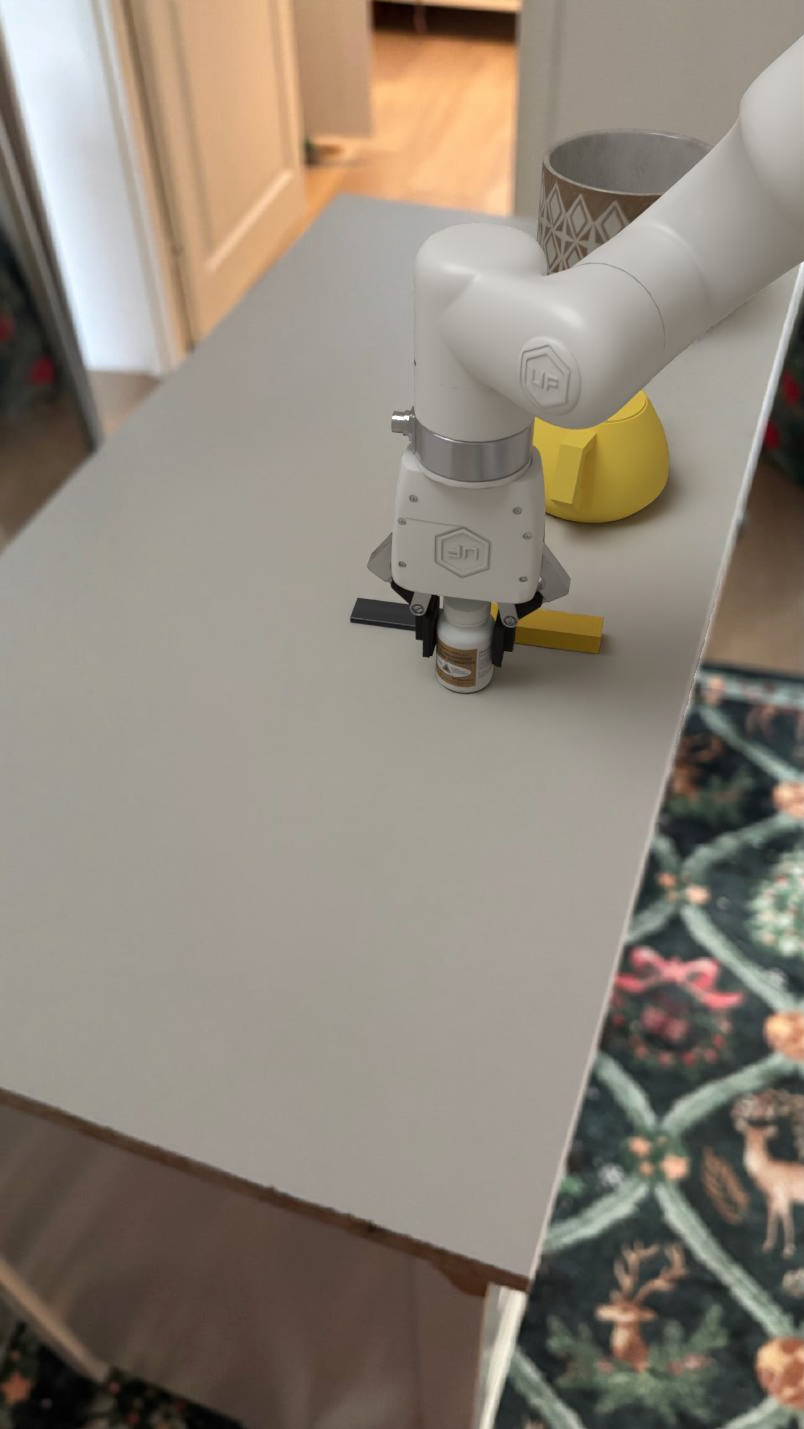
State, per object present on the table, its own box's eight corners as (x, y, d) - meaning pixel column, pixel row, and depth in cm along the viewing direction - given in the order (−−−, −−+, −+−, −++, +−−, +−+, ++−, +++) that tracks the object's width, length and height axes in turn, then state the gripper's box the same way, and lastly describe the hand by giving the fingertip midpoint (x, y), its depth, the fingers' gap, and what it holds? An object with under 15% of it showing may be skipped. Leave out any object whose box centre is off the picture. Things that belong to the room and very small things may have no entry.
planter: (554, 265, 134) (567, 120, 122) (711, 287, 129) (741, 138, 117) (511, 335, 121) (522, 181, 109) (684, 362, 116) (714, 204, 105)
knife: (600, 633, 86) (603, 616, 85) (598, 655, 84) (601, 637, 83) (357, 601, 89) (356, 584, 88) (350, 622, 87) (349, 605, 86)
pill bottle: (424, 678, 83) (424, 601, 77) (457, 647, 85) (459, 570, 80) (471, 703, 81) (475, 625, 75) (503, 670, 83) (509, 592, 78)
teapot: (503, 411, 110) (509, 307, 102) (683, 445, 105) (704, 338, 97) (437, 521, 97) (438, 411, 89) (639, 565, 92) (659, 452, 84)
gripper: (328, 455, 67) (343, 668, 80) (603, 484, 64) (572, 700, 77) (357, 394, 72) (366, 604, 85) (613, 419, 69) (582, 632, 82)
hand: (464, 648), depth 81 cm, fingers open, 4 cm apart
